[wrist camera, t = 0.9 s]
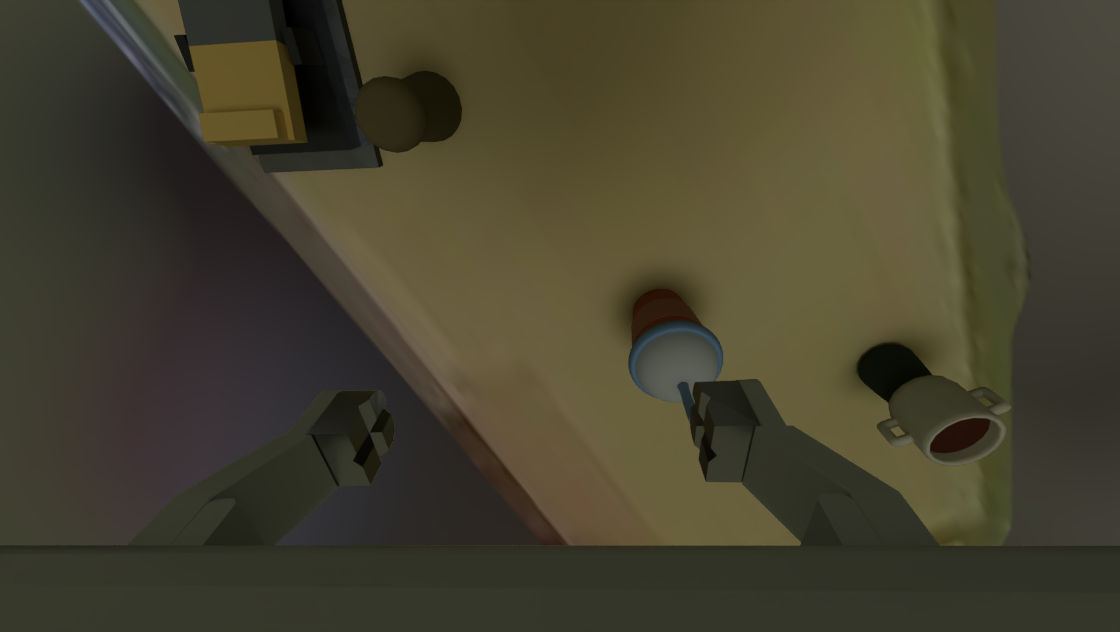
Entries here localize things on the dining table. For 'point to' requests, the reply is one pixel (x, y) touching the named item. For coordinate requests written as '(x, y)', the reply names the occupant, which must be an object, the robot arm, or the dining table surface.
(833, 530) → the robot arm
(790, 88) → the dining table surface
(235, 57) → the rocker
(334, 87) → the grey box with tabs
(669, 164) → the dining table surface
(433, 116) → the dark tall tapered piece
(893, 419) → the grey trophy cup
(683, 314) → the cup with straw
